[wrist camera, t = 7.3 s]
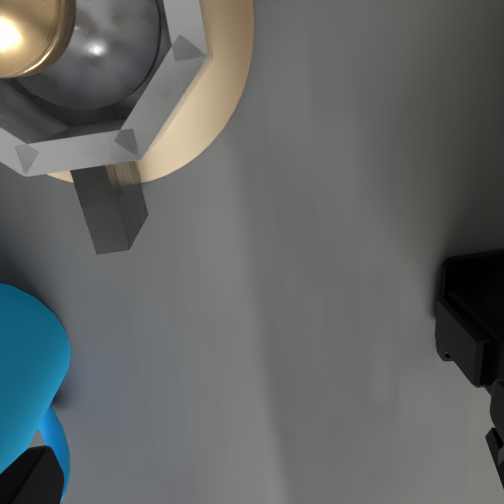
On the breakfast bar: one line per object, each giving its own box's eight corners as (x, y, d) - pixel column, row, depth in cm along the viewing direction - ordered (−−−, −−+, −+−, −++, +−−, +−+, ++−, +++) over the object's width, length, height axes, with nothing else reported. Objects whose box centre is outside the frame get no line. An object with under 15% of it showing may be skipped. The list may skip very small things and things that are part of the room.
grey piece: (180, -148, 14) (158, -250, 10) (235, 197, 19) (237, 237, 15) (-84, -107, 14) (-229, -189, 10) (40, 226, 19) (-18, 275, 15)
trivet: (226, -222, 14) (226, -232, 13) (271, 161, 19) (272, 164, 19) (-155, -164, 14) (-168, -171, 14) (-5, 203, 19) (-11, 206, 19)
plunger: (139, -95, 14) (57, -247, 7) (176, 95, 16) (142, 114, 10) (-39, -68, 14) (-284, -194, 7) (26, 118, 16) (-112, 152, 10)
